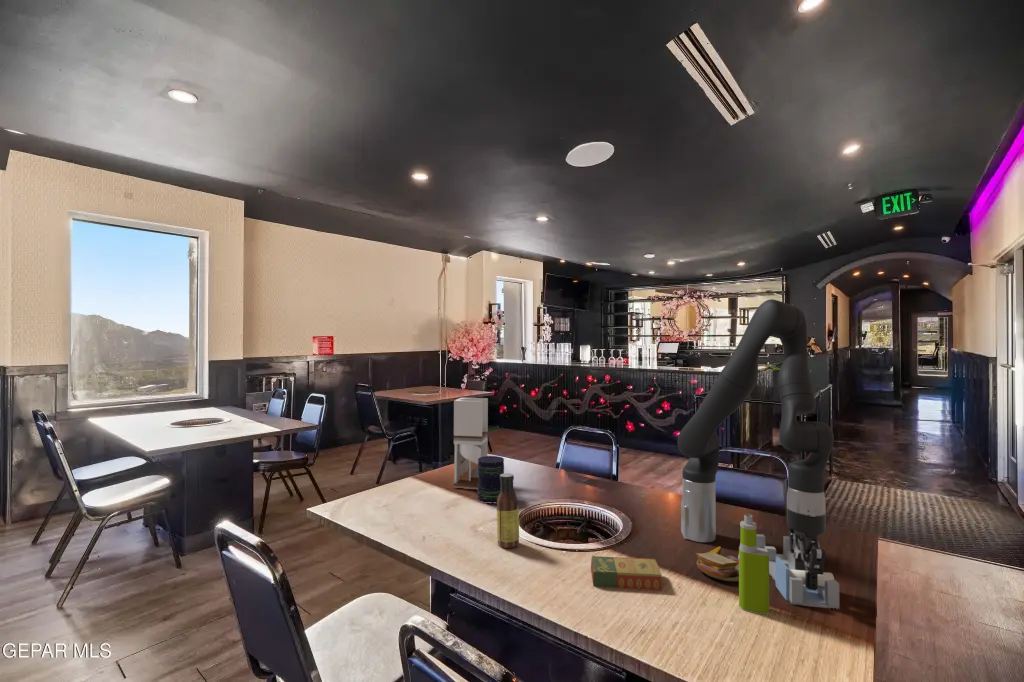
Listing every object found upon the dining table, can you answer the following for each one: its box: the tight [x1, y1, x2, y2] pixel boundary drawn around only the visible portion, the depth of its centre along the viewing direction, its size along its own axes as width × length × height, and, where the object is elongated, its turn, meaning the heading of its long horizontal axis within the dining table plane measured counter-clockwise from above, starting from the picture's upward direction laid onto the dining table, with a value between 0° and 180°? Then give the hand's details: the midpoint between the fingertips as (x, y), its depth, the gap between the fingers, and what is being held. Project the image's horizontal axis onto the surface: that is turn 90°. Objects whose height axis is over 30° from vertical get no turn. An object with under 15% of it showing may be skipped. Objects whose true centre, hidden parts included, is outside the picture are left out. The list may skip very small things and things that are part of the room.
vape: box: [737, 513, 770, 615], centre depth 102 cm, size 4×6×20 cm, turn 67°
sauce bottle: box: [496, 472, 520, 549], centre depth 133 cm, size 6×6×20 cm
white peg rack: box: [756, 533, 840, 610], centre depth 115 cm, size 10×26×7 cm, turn 169°
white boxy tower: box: [452, 397, 489, 488], centre depth 190 cm, size 11×11×35 cm
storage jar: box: [477, 455, 505, 502], centre depth 172 cm, size 10×10×15 cm
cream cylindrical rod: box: [789, 569, 835, 587], centre depth 107 cm, size 10×3×3 cm, turn 79°
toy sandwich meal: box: [695, 546, 739, 583], centre depth 118 cm, size 12×14×5 cm
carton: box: [590, 555, 663, 592], centre depth 113 cm, size 8×16×4 cm, turn 83°
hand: (806, 582), depth 107 cm, fingers open, 5 cm apart
